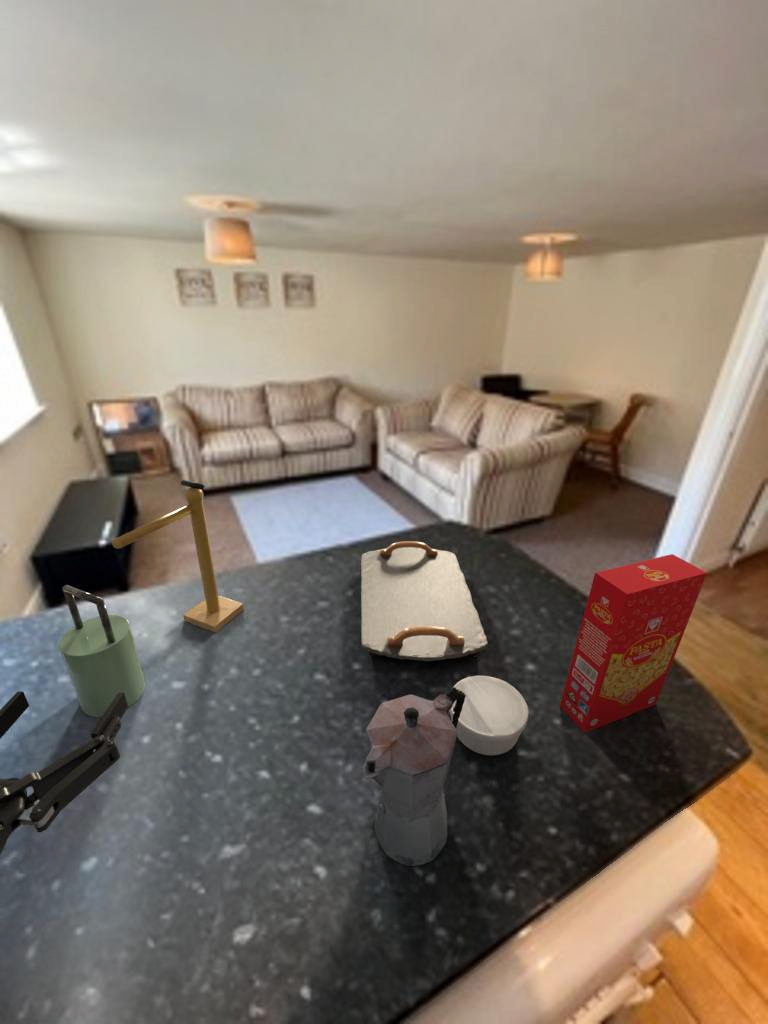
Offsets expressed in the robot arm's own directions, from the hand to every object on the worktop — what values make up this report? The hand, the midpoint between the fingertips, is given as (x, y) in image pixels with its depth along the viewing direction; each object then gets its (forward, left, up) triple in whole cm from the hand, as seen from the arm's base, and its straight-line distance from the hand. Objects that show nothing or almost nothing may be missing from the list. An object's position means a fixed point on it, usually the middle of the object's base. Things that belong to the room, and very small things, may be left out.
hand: (73, 698), depth 61 cm
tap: (-3, +23, -7) cm, 24 cm away
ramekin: (+52, +26, -7) cm, 58 cm away
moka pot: (+47, +9, -7) cm, 48 cm away
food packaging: (+69, +39, -7) cm, 79 cm away
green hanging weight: (-3, +7, -7) cm, 10 cm away
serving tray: (+32, +50, -7) cm, 60 cm away
